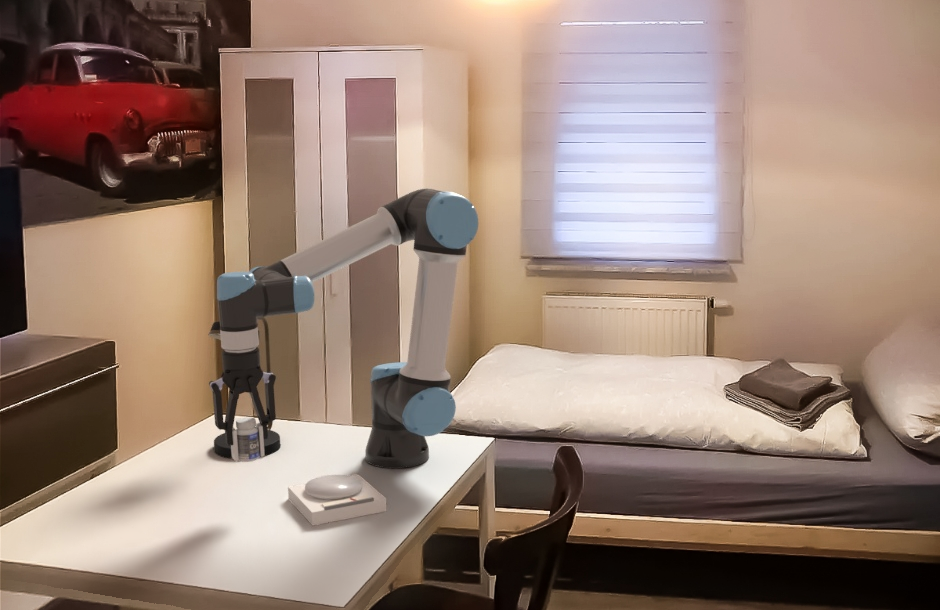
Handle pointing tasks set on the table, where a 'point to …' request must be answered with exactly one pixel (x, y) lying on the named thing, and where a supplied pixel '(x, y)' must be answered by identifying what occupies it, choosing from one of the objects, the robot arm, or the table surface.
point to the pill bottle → (247, 439)
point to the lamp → (273, 437)
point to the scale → (336, 498)
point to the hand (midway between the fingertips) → (248, 456)
